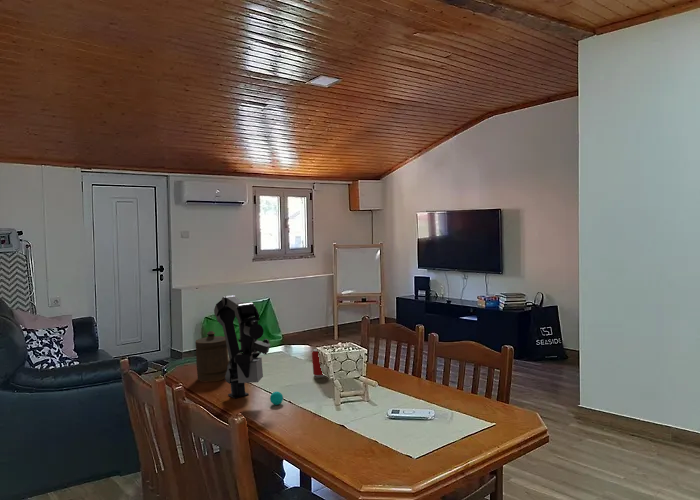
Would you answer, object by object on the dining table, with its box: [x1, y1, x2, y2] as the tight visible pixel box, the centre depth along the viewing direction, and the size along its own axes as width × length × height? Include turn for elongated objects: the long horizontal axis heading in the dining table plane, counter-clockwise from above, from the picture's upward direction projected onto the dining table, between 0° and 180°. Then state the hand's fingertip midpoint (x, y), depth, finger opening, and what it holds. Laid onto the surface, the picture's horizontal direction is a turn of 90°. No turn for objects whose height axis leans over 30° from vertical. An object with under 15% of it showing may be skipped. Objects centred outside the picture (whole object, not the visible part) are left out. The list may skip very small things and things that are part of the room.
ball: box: [269, 391, 284, 406], centre depth 230 cm, size 5×5×5 cm
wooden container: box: [195, 330, 230, 382], centre depth 276 cm, size 15×15×22 cm
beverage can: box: [311, 348, 325, 378], centre depth 268 cm, size 6×6×12 cm
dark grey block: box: [237, 356, 264, 384], centre depth 231 cm, size 8×8×8 cm
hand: (250, 374), depth 231 cm, fingers closed on dark grey block, 8 cm apart
